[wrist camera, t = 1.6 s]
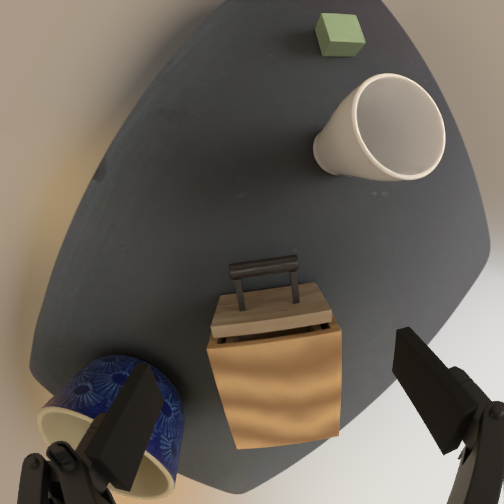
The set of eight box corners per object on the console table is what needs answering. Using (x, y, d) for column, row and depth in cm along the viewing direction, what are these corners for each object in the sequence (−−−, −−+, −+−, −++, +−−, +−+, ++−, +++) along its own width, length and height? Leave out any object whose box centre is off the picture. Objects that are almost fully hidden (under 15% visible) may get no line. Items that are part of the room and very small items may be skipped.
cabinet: (218, 306, 32) (206, 349, 23) (320, 292, 31) (341, 330, 23) (240, 400, 35) (236, 449, 26) (324, 388, 35) (338, 436, 26)
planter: (155, 320, 33) (100, 400, 18) (217, 414, 36) (204, 500, 21) (70, 350, 34) (15, 409, 19) (131, 429, 38) (101, 495, 23)
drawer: (212, 255, 30) (198, 277, 23) (311, 241, 29) (328, 258, 22) (240, 389, 34) (238, 429, 27) (321, 378, 33) (332, 416, 26)
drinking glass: (371, 174, 28) (457, 171, 14) (314, 189, 29) (370, 192, 14) (354, 116, 27) (427, 70, 12) (296, 127, 27) (334, 76, 13)
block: (346, 30, 24) (356, 14, 20) (354, 57, 25) (366, 43, 21) (314, 29, 24) (321, 12, 21) (322, 56, 25) (330, 41, 21)
